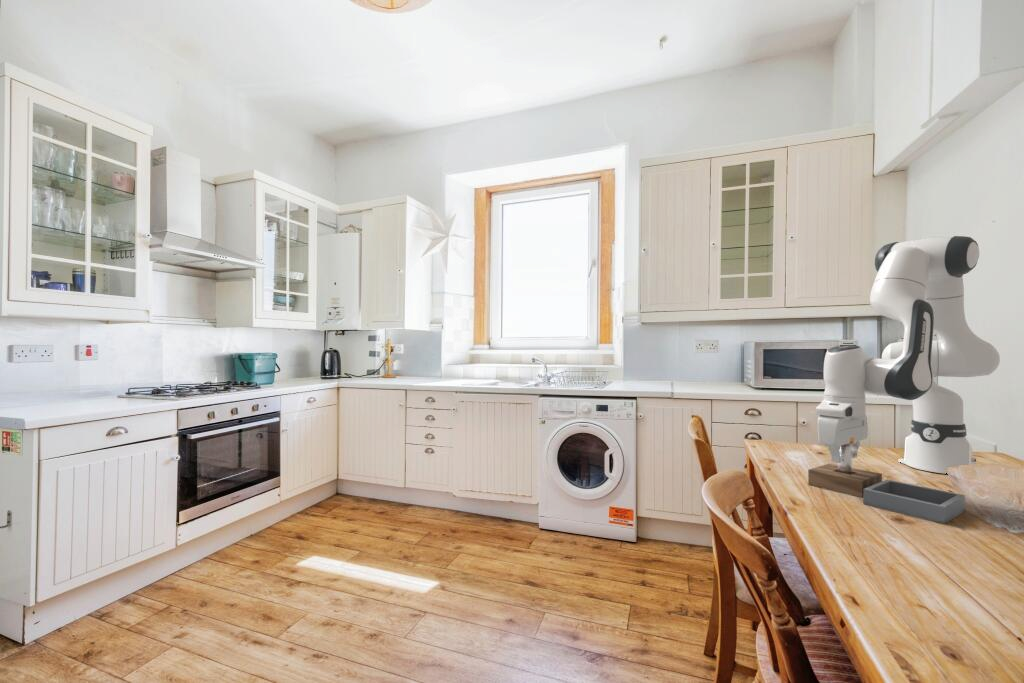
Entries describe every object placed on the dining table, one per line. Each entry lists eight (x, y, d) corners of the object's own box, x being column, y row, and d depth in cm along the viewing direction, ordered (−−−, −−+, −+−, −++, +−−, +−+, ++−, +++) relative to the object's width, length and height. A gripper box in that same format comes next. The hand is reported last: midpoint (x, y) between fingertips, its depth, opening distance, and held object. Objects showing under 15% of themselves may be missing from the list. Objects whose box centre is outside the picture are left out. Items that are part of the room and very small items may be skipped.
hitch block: (829, 477, 125) (829, 463, 125) (882, 489, 115) (882, 473, 115) (808, 484, 119) (808, 469, 119) (862, 497, 109) (862, 481, 109)
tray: (887, 493, 112) (887, 479, 112) (964, 510, 100) (964, 495, 100) (863, 503, 104) (863, 488, 104) (944, 524, 92) (944, 507, 92)
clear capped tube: (838, 483, 120) (838, 434, 120) (858, 487, 116) (857, 437, 116) (831, 486, 118) (830, 436, 118) (850, 490, 114) (850, 439, 114)
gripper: (847, 403, 125) (848, 452, 125) (812, 408, 114) (812, 462, 114) (875, 405, 120) (875, 457, 120) (840, 411, 109) (841, 468, 109)
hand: (844, 459), depth 117 cm, fingers open, 8 cm apart
